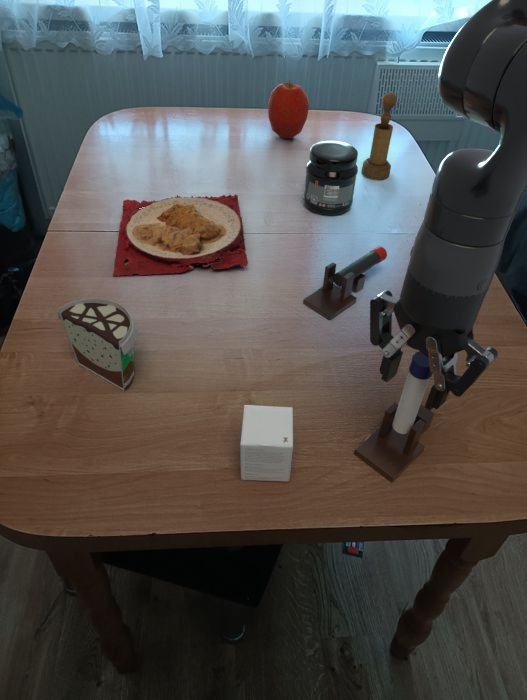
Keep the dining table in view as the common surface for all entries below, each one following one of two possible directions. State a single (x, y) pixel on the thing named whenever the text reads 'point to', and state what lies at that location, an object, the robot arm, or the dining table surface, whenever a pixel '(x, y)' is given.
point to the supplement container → (330, 177)
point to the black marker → (361, 264)
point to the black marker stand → (334, 294)
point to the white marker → (412, 393)
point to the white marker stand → (394, 444)
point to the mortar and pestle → (380, 144)
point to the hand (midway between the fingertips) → (409, 390)
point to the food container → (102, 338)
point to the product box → (266, 443)
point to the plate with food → (180, 235)
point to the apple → (288, 110)
